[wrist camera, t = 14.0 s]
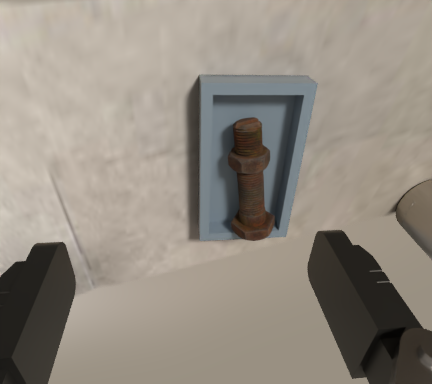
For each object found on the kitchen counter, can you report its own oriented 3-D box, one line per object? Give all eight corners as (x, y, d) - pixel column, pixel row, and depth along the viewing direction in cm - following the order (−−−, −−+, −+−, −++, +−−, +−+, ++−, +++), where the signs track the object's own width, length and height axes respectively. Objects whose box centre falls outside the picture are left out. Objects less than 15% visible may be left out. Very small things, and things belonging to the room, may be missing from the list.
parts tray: (307, 75, 36) (317, 83, 34) (280, 222, 48) (286, 236, 45) (199, 74, 35) (201, 82, 32) (198, 226, 47) (199, 240, 44)
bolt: (247, 108, 39) (253, 210, 47) (212, 121, 36) (225, 226, 45) (283, 120, 35) (282, 230, 43) (246, 135, 32) (253, 248, 40)
